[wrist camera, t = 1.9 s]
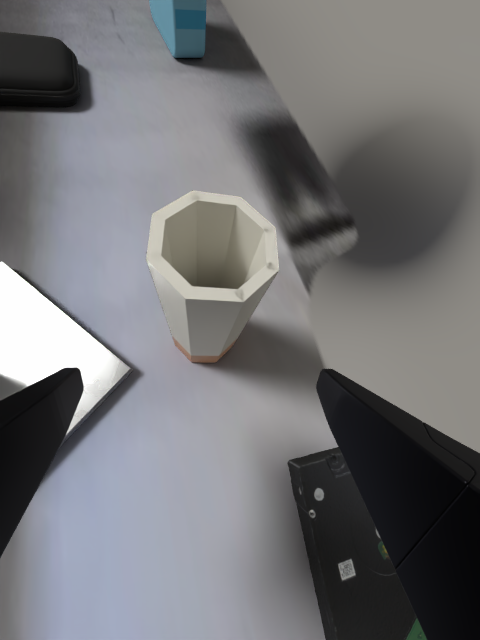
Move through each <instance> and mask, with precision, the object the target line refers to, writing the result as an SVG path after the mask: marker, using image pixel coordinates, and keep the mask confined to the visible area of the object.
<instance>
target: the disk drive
mask: <svg viewBox="0 0 480 640" xmlns="http://www.w3.org/2000/svg"><path fill="white" fill-rule="evenodd" d="M288 466H289V471H290V476H291V483H292V488H293V493H294V497H295V501H296V503H297V508H298V512H299V517H300V521H301V526H302V531H303V535H304V540H305V544H306V550H307V554H308V558H309V563H310V569H311V572H312V577H313V582H314V587H315V592H316V595H317V599H318V605H319V609H320V614H321V619H322V623H323V628H324V633H325V638H326V640H427V639H426V637H425V634H424V632H423V630H422V628H421V626H420V624H419V621H418V619H417V617H416V615H415V613H414V610H413V608H412V606H411V604H410V602H409V600H408V597H407V595H406V593H405V591H404V589H403V587H402V584H401V582H400V580H399V578H398V576H397V573H396V571H395V570H396V569H395V568H394V567H393V564H392V562H391V560H390V558H389V556H388V553H387V551H386V549H385V547H384V545H383V543H382V540H381V538H380V536H379V534H378V532H377V529H376V527H375V525H374V523H373V521H372V519H371V516H370V514H369V512H368V510H367V508H366V506H365V503H364V501H363V499H362V497H361V495H360V492H359V490H358V488H357V486H356V484H355V482H354V479H353V477H352V475H351V473H350V471H349V468H348V466H347V464H346V462H345V460H344V458H343V455H342V453H341V451H340V449H339V447H337V448H333V449H329V450H325V451H321V452H318V453H314V454H310V455H308V456H304V457H301V458H295V459H292V460H289V461H288Z"/></svg>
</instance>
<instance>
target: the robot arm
mask: <svg viewBox="0 0 480 640" xmlns="http://www.w3.org/2000/svg"><path fill="white" fill-rule="evenodd" d="M316 389H317V393H318V396H319V399H320V402H321V404H322V407H323V410H324V413H325V416H326V419H327V422H328V424H329V427H330V429H331V431H332V434H333V436H334V438H335V440H336V442H337V445H338V447H339V449H340V451H341V453H342V455H343V458H344V460H345V462H346V464H347V466H348V468H349V471H350V473H351V475H352V477H353V479H354V482H355V484H356V486H357V488H358V490H359V492H360V495H361V497H362V499H363V501H364V503H365V506H366V508H367V510H368V512H369V514H370V516H371V519H372V521H373V523H374V525H375V527H376V529H377V532H378V534H379V536H380V538H381V540H382V543H383V545H384V547H385V549H386V551H387V553H388V556H389V558H390V560H391V562H392V564H393V567H394V568H395V569H396V570H395V571H396V573H397V576H398V578H399V580H400V582H401V584H402V587H403V589H404V591H405V593H406V595H407V597H408V600H409V602H410V604H411V606H412V608H413V610H414V613H415V615H416V617H417V619H418V621H419V624H420V626H421V628H422V630H423V632H424V634H425V637H426V639H427V640H480V453H478V452H476V451H474V450H473V449H471V448H469V447H467V446H465V445H463V444H461V443H459V442H458V441H456V440H454V439H452V438H450V437H449V436H447V435H445V434H443V433H441V432H440V431H438V430H436V429H435V428H433V427H431V426H429V425H428V424H426V423H422V421H421V420H419V419H417V418H416V417H414V416H412V415H410V414H409V413H407V412H405V411H404V410H402V409H400V408H398V407H397V406H395V405H393V404H391V403H390V402H388V401H386V400H384V399H383V398H381V397H379V396H378V395H376V394H374V393H373V392H371V391H369V390H367V389H366V388H364V387H362V386H361V385H359V384H357V383H355V382H354V381H352V380H350V379H348V378H347V377H345V376H343V375H342V374H340V373H338V372H336V371H335V370H333V369H322V370H321V372H320V375H319V378H318V382H317V385H316ZM83 391H84V385H83V380H82V376H81V371H80V369H79V368H77V367H65V368H63V369H61V370H59V371H57V372H55V373H53V374H51V375H49V376H47V377H45V378H43V379H41V380H39V381H37V382H35V383H33V384H31V385H29V386H27V387H25V388H23V389H22V390H20V391H18V392H16V393H14V394H12V395H10V396H8V397H6V398H4V399H2V400H0V558H1V556H2V554H3V552H4V550H5V548H6V546H7V544H8V543H9V541H10V539H11V537H12V535H13V533H14V531H15V529H16V528H17V526H18V524H19V522H20V520H21V518H22V516H23V515H24V513H25V511H26V509H27V507H28V505H29V503H30V501H31V500H32V498H33V496H34V494H35V492H36V490H37V488H38V486H39V485H40V483H41V481H42V479H43V477H44V475H45V473H46V471H47V470H48V468H49V466H50V464H51V462H52V460H53V458H54V456H55V455H56V453H57V451H58V449H59V447H60V445H61V443H62V441H63V439H64V437H65V436H66V433H67V431H68V429H69V426H70V424H71V421H72V419H73V416H74V414H75V411H76V409H77V406H78V404H79V401H80V399H81V396H82V394H83Z"/></svg>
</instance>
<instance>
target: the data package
mask: <svg viewBox="0 0 480 640" xmlns="http://www.w3.org/2000/svg"><path fill="white" fill-rule="evenodd" d="M149 2H150V9H151V13H152V17H153V20H154V22H155V24H156V26H157V28H158V30H159V31H160V33H161V35H162V37H163V39H164V41H165V43H166V44H167V46H168V48H169V50H170V52H171V54H172V55H173V57H174V58H202V57H203V56H204V53H205V35H206V0H149Z"/></svg>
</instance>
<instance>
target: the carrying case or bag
mask: <svg viewBox="0 0 480 640" xmlns="http://www.w3.org/2000/svg"><path fill="white" fill-rule="evenodd" d="M79 95H80V83H79V72H78V61H77V58H76V56H75V54H74V53H73V52H72V51H71V50H70V49H69V48H68V47H67V46H66V45H65V44H64V43H63V42H62V41H61V40H59V39H56V38H52V37H45V36H36V35H26V34H16V33H7V32H0V105H8V106H45V107H68V106H73V105H74V104H75V103H76V101H77V99H78V97H79Z"/></svg>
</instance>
